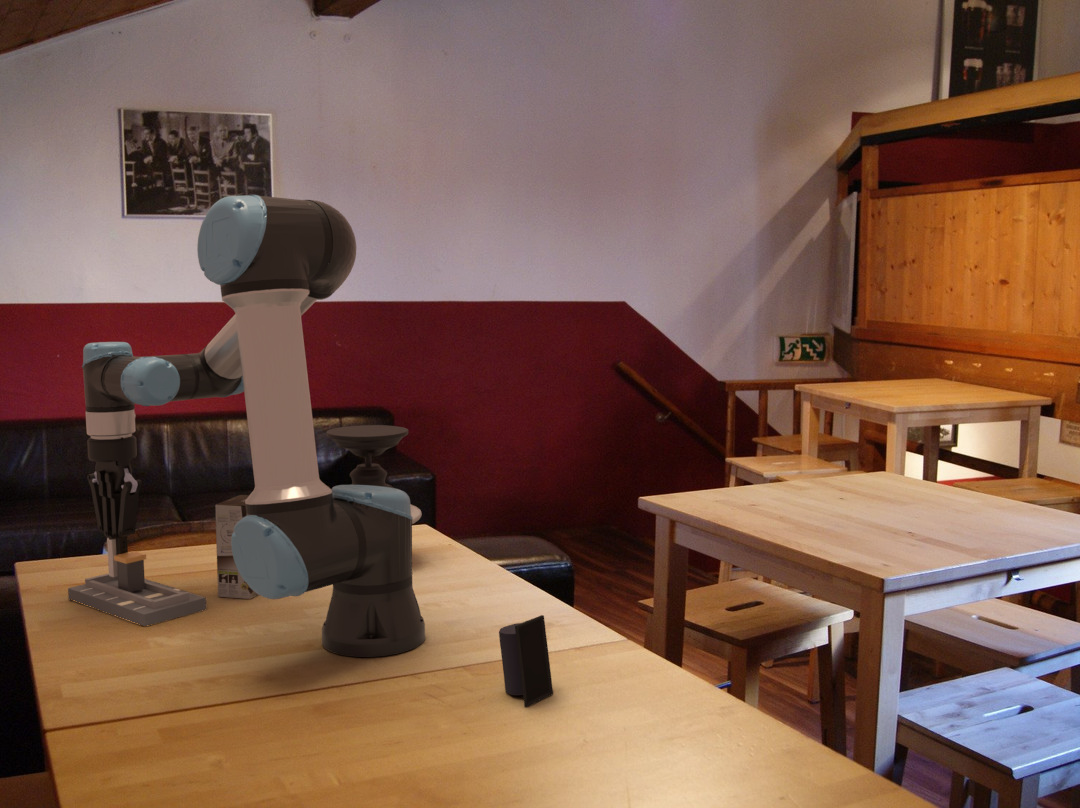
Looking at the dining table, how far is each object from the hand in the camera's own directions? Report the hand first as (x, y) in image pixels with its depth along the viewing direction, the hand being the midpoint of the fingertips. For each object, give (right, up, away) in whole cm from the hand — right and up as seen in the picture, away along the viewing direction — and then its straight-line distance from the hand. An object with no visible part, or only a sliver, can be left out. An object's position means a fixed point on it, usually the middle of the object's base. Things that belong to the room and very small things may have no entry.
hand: (118, 574), depth 175 cm
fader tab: (+3, -2, -2) cm, 4 cm away
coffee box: (+20, -4, +5) cm, 21 cm away
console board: (+4, -5, -3) cm, 7 cm away
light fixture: (+39, -2, +22) cm, 45 cm away
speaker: (+68, -9, -40) cm, 80 cm away
